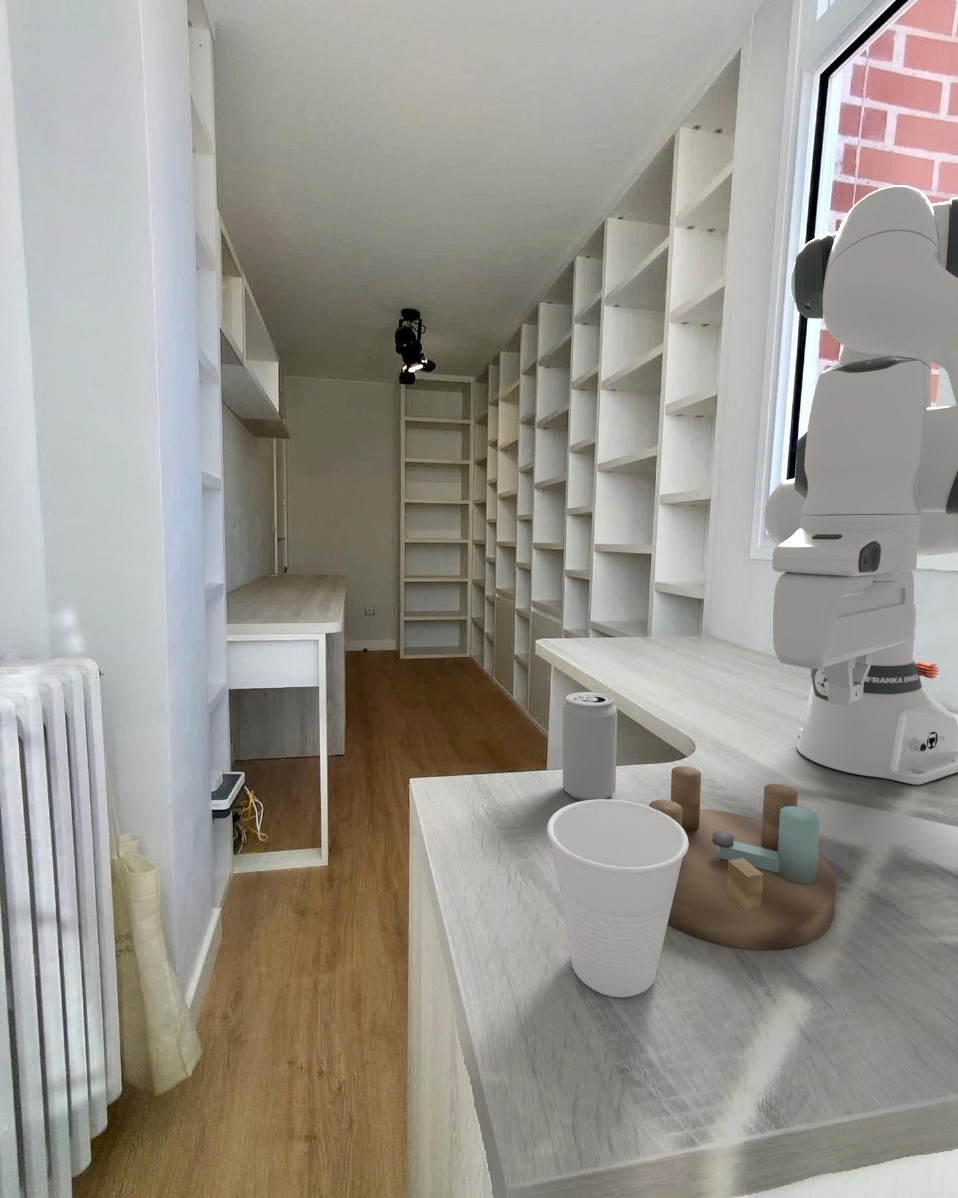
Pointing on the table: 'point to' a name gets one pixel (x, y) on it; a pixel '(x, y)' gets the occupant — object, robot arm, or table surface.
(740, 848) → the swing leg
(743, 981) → the table surface
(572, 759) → the beverage can
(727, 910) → the stool seat
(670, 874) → the cup
